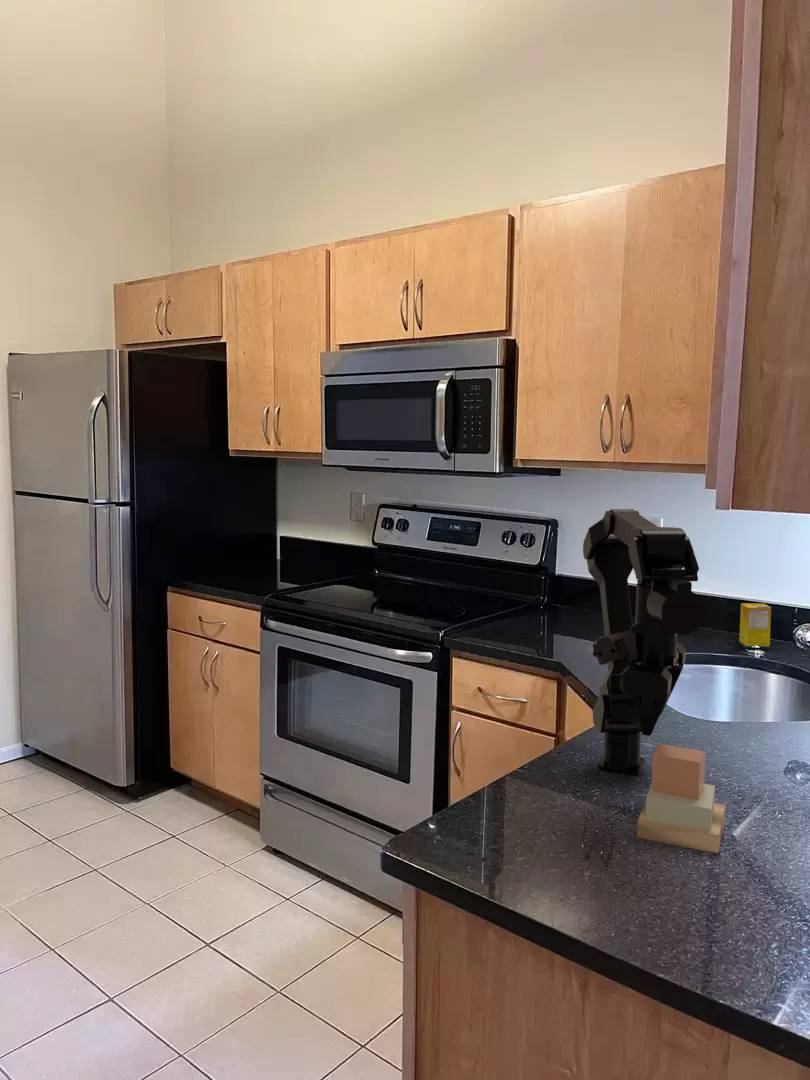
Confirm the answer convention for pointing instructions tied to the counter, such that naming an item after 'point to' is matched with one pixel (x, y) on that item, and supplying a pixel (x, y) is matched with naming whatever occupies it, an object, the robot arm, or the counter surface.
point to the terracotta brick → (678, 771)
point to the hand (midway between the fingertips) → (652, 724)
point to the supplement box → (755, 625)
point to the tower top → (681, 808)
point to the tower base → (685, 832)
